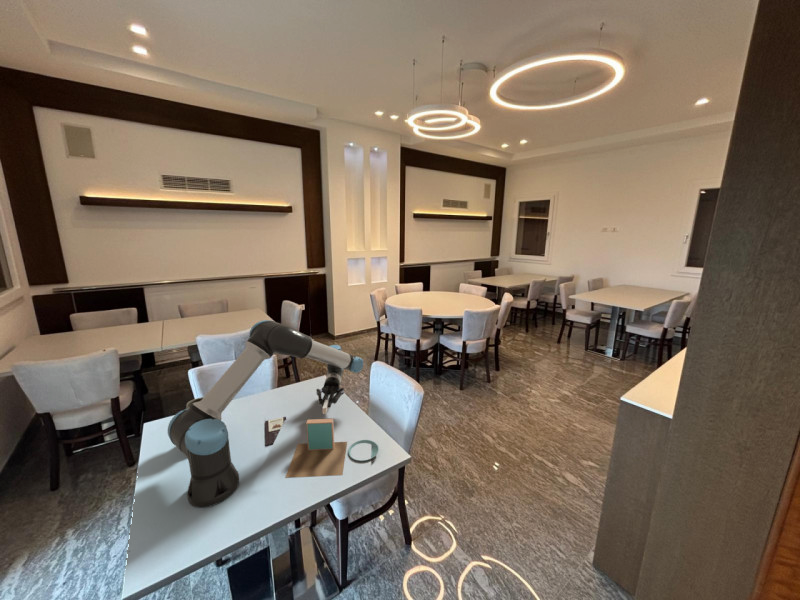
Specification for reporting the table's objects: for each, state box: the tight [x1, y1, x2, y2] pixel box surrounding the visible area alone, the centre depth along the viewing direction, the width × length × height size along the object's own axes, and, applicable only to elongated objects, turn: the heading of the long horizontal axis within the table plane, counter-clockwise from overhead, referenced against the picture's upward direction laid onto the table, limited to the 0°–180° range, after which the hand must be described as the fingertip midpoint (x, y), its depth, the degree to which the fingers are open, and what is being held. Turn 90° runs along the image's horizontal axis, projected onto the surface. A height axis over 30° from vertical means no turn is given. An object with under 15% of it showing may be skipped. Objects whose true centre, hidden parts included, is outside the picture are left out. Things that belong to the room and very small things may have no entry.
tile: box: [305, 418, 335, 450], centre depth 123 cm, size 10×3×12 cm, turn 94°
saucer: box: [347, 439, 380, 462], centre depth 123 cm, size 12×12×2 cm
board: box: [285, 441, 348, 479], centre depth 119 cm, size 20×18×1 cm
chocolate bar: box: [264, 416, 287, 447], centre depth 137 cm, size 9×1×18 cm
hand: (324, 410), depth 131 cm, fingers closed
